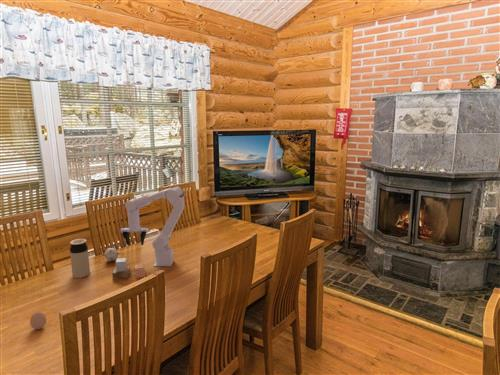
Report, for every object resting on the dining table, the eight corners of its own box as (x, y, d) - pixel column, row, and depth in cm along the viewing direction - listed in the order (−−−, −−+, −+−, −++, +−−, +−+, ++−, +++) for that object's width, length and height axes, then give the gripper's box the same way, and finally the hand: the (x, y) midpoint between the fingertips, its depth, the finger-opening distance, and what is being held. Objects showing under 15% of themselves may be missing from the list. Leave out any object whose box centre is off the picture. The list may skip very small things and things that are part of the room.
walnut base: (130, 273, 173) (129, 266, 172) (127, 279, 166) (126, 272, 165) (116, 274, 172) (115, 266, 171) (112, 280, 165) (112, 272, 164)
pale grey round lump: (113, 268, 186) (111, 259, 179) (100, 262, 187) (98, 252, 180) (123, 256, 192) (122, 246, 185) (110, 249, 193) (109, 240, 186)
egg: (27, 330, 125) (25, 314, 123) (40, 323, 129) (38, 307, 128) (37, 333, 123) (35, 317, 122) (50, 326, 128) (48, 309, 126)
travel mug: (93, 272, 173) (90, 239, 169) (81, 279, 165) (77, 244, 162) (81, 270, 175) (78, 237, 172) (68, 277, 168) (65, 242, 164)
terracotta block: (145, 272, 173) (144, 263, 172) (144, 276, 169) (144, 267, 168) (135, 274, 172) (135, 264, 171) (135, 277, 167) (134, 268, 166)
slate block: (126, 267, 171) (126, 257, 170) (126, 270, 166) (125, 261, 165) (117, 268, 169) (116, 258, 169) (116, 271, 165) (115, 262, 164)
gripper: (149, 218, 186) (150, 242, 189) (123, 219, 186) (124, 242, 188) (145, 222, 179) (147, 246, 182) (118, 222, 179) (120, 246, 181)
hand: (135, 244), depth 185 cm, fingers open, 7 cm apart
